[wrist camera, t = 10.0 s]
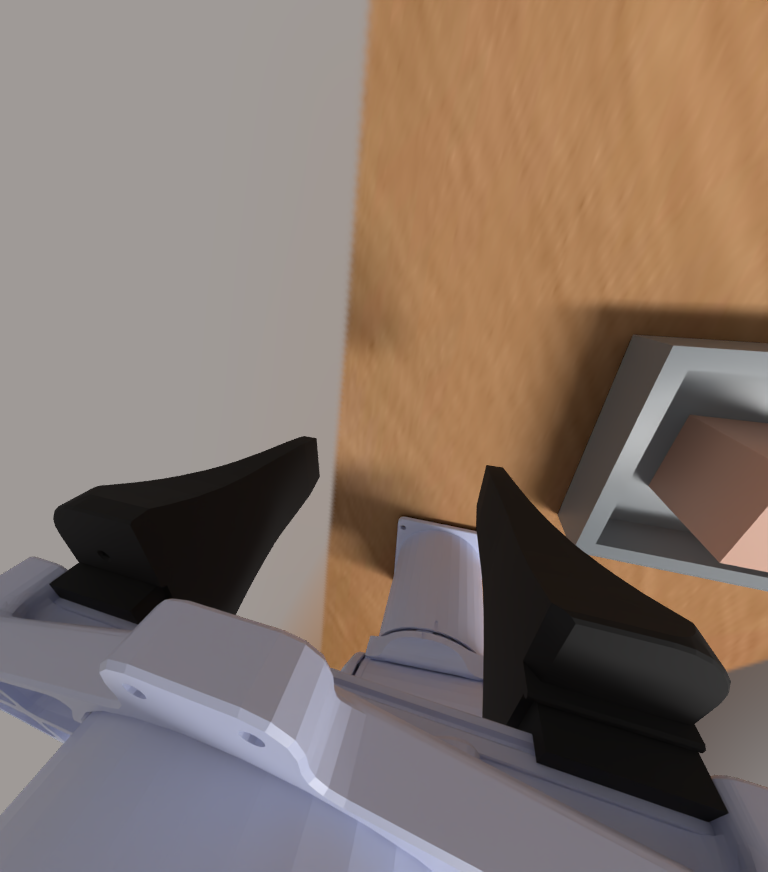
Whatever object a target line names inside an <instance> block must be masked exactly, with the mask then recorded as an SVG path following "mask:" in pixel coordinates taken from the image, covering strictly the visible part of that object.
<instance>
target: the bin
mask: <svg viewBox="0 0 768 872" xmlns="http://www.w3.org/2000/svg"><path fill="white" fill-rule="evenodd" d="M689 415H697V416H706V417H715V418H724V419H733V420H742V421H751V422H760V423H768V343H757V342H741V341H725V340H710V339H694V338H678V337H663V336H647V335H633V336H632V339H631V341H630V343H629V346H628V348H627V351H626V353H625V355H624V358H623V360H622V363H621V365H620V367H619V370H618V372H617V374H616V377H615V379H614V382H613V384H612V386H611V389H610V391H609V394H608V396H607V398H606V401H605V403H604V405H603V408H602V410H601V413H600V415H599V417H598V420H597V422H596V425H595V427H594V429H593V432H592V434H591V436H590V439H589V441H588V444H587V446H586V448H585V451H584V453H583V456H582V458H581V460H580V463H579V465H578V467H577V470H576V472H575V475H574V477H573V479H572V482H571V484H570V487H569V489H568V491H567V494H566V496H565V498H564V501H563V503H562V506H561V508H560V510H559V513H558V517H559V520H560V522H561V524H562V527H563V529H564V532H565V534H566V537H567V538H568V539H569V540H570V541H571V542H572V543H574V544H575V545H576V546H577V547H578V548H580V549H581V550H582V551H584V552H585V553H586V554H587V555H592V556H597V557H602V558H607V559H612V560H617V561H622V562H626V563H631V564H636V565H641V566H646V567H651V568H656V569H661V570H666V571H670V572H675V573H680V574H685V575H690V576H695V577H700V578H705V579H710V580H715V581H719V582H724V583H729V584H734V585H739V586H744V587H749V588H754V589H759V590H763V591H768V572H764V571H759V570H754V569H749V568H744V567H738V566H733V565H728V564H723V563H719V562H718V561H717V560H716V558H715V557H714V556H713V555H712V554H711V553H710V552H709V551H708V550H707V549H706V548H705V547H704V546H703V544H702V543H701V542H700V541H699V540H698V539H697V538H696V537H695V536H694V535H693V534H692V533H691V532H690V530H689V529H688V528H687V527H686V526H685V525H684V524H683V523H682V522H681V521H680V520H679V519H678V518H677V516H676V515H675V514H674V513H673V512H672V511H671V510H670V509H669V508H668V507H667V506H666V505H665V504H664V502H663V501H662V500H661V499H660V498H659V497H658V496H657V495H656V494H655V493H654V492H653V491H652V490H651V488H650V487H649V484H650V482H651V480H652V479H653V477H654V475H655V473H656V472H657V470H658V468H659V467H660V465H661V463H662V461H663V460H664V458H665V456H666V455H667V453H668V451H669V449H670V448H671V446H672V444H673V442H674V441H675V439H676V437H677V436H678V434H679V432H680V430H681V429H682V427H683V425H684V423H685V422H686V420H687V418H688V417H689Z"/></svg>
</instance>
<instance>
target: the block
mask: <svg viewBox="0 0 768 872" xmlns="http://www.w3.org/2000/svg"><path fill="white" fill-rule="evenodd" d="M649 487H650V488H651V490H652V491H653V492H654V493H655V494H656V495H657V496H658V497H659V498H660V499H661V500H662V501H663V502H664V504H665V505H666V506H667V507H668V508H669V509H670V510H671V511H672V512H673V513H674V514H675V515H676V516H677V518H678V519H679V520H680V521H681V522H682V523H683V524H684V525H685V526H686V527H687V528H688V529H689V530H690V532H691V533H692V534H693V535H694V536H695V537H696V538H697V539H698V540H699V541H700V542H701V543H702V544H703V546H704V547H705V548H706V549H707V550H708V551H709V552H710V553H711V554H712V555H713V556H714V557H715V558H716V560H717V561H718V562H719V563H723V564H728V565H733V566H738V567H744V568H749V569H754V570H759V571H764V572H768V423H760V422H751V421H742V420H733V419H724V418H715V417H706V416H697V415H689V417H688V418H687V420H686V422H685V423H684V425H683V427H682V429H681V430H680V432H679V434H678V436H677V437H676V439H675V441H674V442H673V444H672V446H671V448H670V449H669V451H668V453H667V455H666V456H665V458H664V460H663V461H662V463H661V465H660V467H659V468H658V470H657V472H656V473H655V475H654V477H653V479H652V480H651V482H650V484H649Z"/></svg>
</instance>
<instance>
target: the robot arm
mask: <svg viewBox="0 0 768 872" xmlns="http://www.w3.org/2000/svg"><path fill="white" fill-rule="evenodd" d="M319 477H320V475H319V463H318V451H317V439H316V438H311V437H306V436H303V437H299V438H296V439H294V440H291V441H288V442H286V443H283V444H281V445H278V446H276V447H273V448H271V449H268V450H266V451H264V452H261V453H258V454H255V455H253V456H250V457H247V458H245V459H242V460H239V461H236V462H233V463H230V464H227V465H223V466H220V467H216V468H212V469H209V470H205V471H200V472H196V473H191V474H186V475H182V476H176V477H171V478H165V479H158V480H152V481H144V482H135V483H126V484H114V485H102V486H97V487H95V488H93V489H90V490H88V491H87V492H85V493H83V494H81V495H79V496H77V497H75V498H73V499H72V500H70V501H68V502H66V503H64V504H62V505H60V506H58V508H57V509H56V510H55V512H54V523H55V526H56V528H57V530H58V532H59V533H60V535H61V537H62V538H63V540H64V541H65V542H66V544H67V545H68V547H69V548H70V550H71V551H72V553H73V554H74V556H75V557H76V559H77V560H78V562H79V563H78V564H76V565H75V566H73V567H72V568H71V569H69V570H67V569H66V568H64V567H63V566H61V565H59V564H57V563H53V562H50V561H47V560H44V559H41V558H38V557H29V558H28V559H26V560H24V561H23V562H21V563H19V564H18V565H16V566H14V567H13V568H11V569H10V570H8V571H7V572H5V573H3V574H1V575H0V710H2V711H4V712H6V713H8V714H10V715H12V716H14V717H15V718H17V719H19V720H21V721H23V722H25V723H27V724H29V725H30V726H32V727H34V728H36V729H38V730H40V731H42V732H43V733H45V734H47V735H49V736H51V737H53V738H54V739H56V740H58V741H60V742H62V743H64V744H63V745H62V746H61V747H60V748H59V749H58V751H57V752H56V753H55V754H54V755H53V756H52V757H51V759H50V760H49V761H48V762H47V763H46V764H45V765H44V766H43V768H42V769H41V770H40V771H39V772H38V773H37V775H36V776H35V777H34V778H33V779H32V780H31V781H30V782H29V783H28V785H27V786H26V787H25V788H24V789H23V790H22V791H21V792H20V794H19V795H18V796H17V797H16V798H15V799H14V800H13V802H12V803H11V804H10V805H9V806H8V807H7V808H6V809H5V811H4V812H3V813H2V814H1V815H0V872H768V788H767V787H764V786H761V785H758V784H755V783H752V782H749V781H745V780H742V779H739V778H735V777H730V776H722V775H719V776H718V775H714V776H710V775H709V773H708V771H707V769H706V767H705V765H704V763H703V761H702V759H701V757H700V755H699V753H698V752H700V753H703V752H705V751H706V748H705V743H704V742H703V740H702V738H701V736H700V734H699V732H698V730H697V728H696V727H695V725H694V724H695V723H696V722H697V721H699V720H700V719H701V718H703V717H704V716H705V715H707V714H708V713H709V712H710V711H712V710H713V709H714V708H716V707H717V706H718V705H719V704H720V703H721V702H722V701H723V700H724V699H725V698H726V696H727V695H728V693H729V689H730V683H731V681H730V678H729V676H728V674H727V672H726V670H725V668H724V667H723V665H722V664H721V662H720V661H719V659H718V658H717V657H716V655H715V654H714V652H713V651H712V649H711V648H710V646H709V645H708V643H707V642H706V641H705V639H704V638H703V636H702V635H701V633H700V632H699V630H698V629H697V628H696V626H695V625H694V624H693V623H692V622H690V621H689V620H687V619H685V618H684V617H682V616H680V615H679V614H677V613H675V612H674V611H672V610H670V609H668V608H667V607H665V606H663V605H662V604H660V603H658V602H657V601H655V600H653V599H652V598H650V597H648V596H647V595H645V594H643V593H642V592H640V591H639V590H637V589H636V588H634V587H633V586H631V585H630V584H628V583H627V582H625V581H624V580H622V579H621V578H619V577H618V576H616V575H615V574H613V573H612V572H610V571H609V570H608V569H606V568H605V567H603V566H602V565H601V564H599V563H598V562H597V561H595V560H594V559H593V558H591V557H590V556H589V555H587V554H586V553H585V552H584V551H582V550H581V549H580V548H578V547H577V546H576V545H575V544H574V543H572V542H571V541H570V540H569V539H568V538H567V537H566V536H564V535H563V534H562V533H561V532H560V531H559V530H558V529H557V528H555V527H554V526H553V525H552V524H551V523H550V522H549V521H548V520H547V519H546V518H545V517H544V516H543V515H542V514H541V513H540V512H539V511H538V509H537V508H536V507H535V506H534V505H533V504H532V503H531V502H530V501H529V499H528V498H527V497H526V496H525V495H524V494H523V492H522V491H521V490H520V489H519V487H518V486H517V485H516V484H515V482H514V481H513V480H512V479H511V477H510V476H509V475H508V473H507V472H506V471H505V470H504V468H502V467H495V466H489V465H486V469H485V473H484V478H483V482H482V486H481V490H480V494H479V498H478V503H477V515H476V530H477V531H473V530H468V529H463V528H458V527H453V526H449V525H444V524H439V523H434V522H429V521H424V520H419V519H414V518H409V517H403V516H402V517H400V518H399V521H398V531H397V543H396V556H395V569H394V577H393V581H392V585H391V589H390V593H389V597H388V601H387V606H386V610H385V614H384V618H383V622H382V626H381V630H380V634H379V636H370V639H369V643H368V646H367V650H366V653H363V652H357V653H355V654H354V655H353V656H352V657H351V659H350V660H349V661H348V662H347V663H346V664H345V665H344V667H343V668H342V670H341V671H339V670H336V669H333V668H330V667H329V665H328V663H327V661H326V659H325V657H324V655H323V654H322V653H321V652H319V651H318V650H317V649H316V648H314V647H313V646H312V645H311V644H310V643H309V642H307V641H306V640H304V639H302V638H300V637H297V636H295V635H293V634H291V633H289V632H287V631H285V630H281V629H278V628H275V627H272V626H268V625H265V624H262V623H259V622H256V621H253V620H249V619H246V618H243V617H240V616H237V615H236V613H237V611H238V609H239V607H240V605H241V603H242V601H243V599H244V597H245V595H246V593H247V591H248V589H249V588H250V586H251V584H252V582H253V580H254V578H255V576H256V575H257V573H258V571H259V569H260V567H261V566H262V564H263V562H264V560H265V559H266V557H267V555H268V554H269V552H270V550H271V548H272V547H273V545H274V543H275V542H276V540H277V539H278V537H279V536H280V534H281V533H282V532H283V530H284V529H285V528H286V526H287V525H288V524H289V522H290V521H291V520H292V518H293V517H294V516H295V514H296V513H297V512H298V510H299V509H300V508H301V506H302V505H303V504H304V502H305V501H306V499H307V498H308V497H309V495H310V494H311V492H312V490H313V488H314V487H315V484H316V482H317V481H318V479H319ZM403 526H405V527H403ZM482 583H483V595H482Z"/></svg>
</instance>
